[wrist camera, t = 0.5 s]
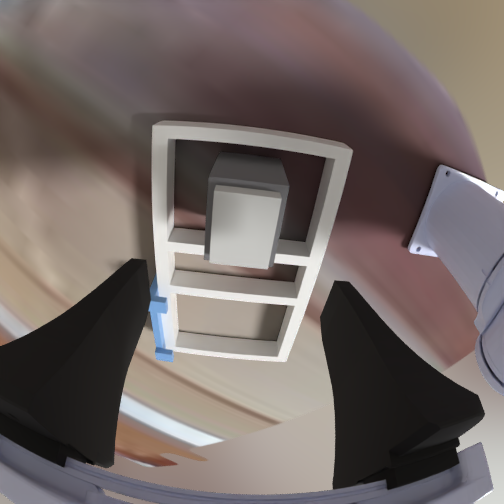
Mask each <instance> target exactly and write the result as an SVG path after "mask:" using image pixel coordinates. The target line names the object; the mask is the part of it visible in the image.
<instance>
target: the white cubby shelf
mask: <svg viewBox="0 0 504 504" xmlns="http://www.w3.org/2000/svg"><path fill="white" fill-rule="evenodd" d="M176 139H186V140H200V141H213V142H224V143H234V144H243V145H251V146H259V147H267V148H274V149H280V150H287V151H293V152H299V153H305V154H311V155H316V156H322V157H326V160H325V164H324V169H323V173H322V177H321V182H320V186H319V190H318V194H317V198H316V202H315V207H314V211H313V215H312V218H311V222H310V226H309V230H308V234H307V238H306V242H300V241H291V240H283V239H279V241H278V246H277V250H276V255H275V260H274V263H281V264H290V265H299V267H298V271H297V275H296V278H295V282H285V281H275V280H265V279H255V278H245V277H236V276H227V275H218V274H209V273H200V272H191V271H183V270H175V253H174V252H180V253H189V254H198V255H204V245H205V231H203V230H193V229H184V228H174V172H175V146H176ZM352 154H353V150H352V149H351V148H350V147H348V146H347V145H346V144H344V143H341V142H337V141H332V140H328V139H323V138H318V137H313V136H307V135H302V134H296V133H290V132H284V131H278V130H271V129H264V128H256V127H248V126H239V125H230V124H219V123H206V122H190V121H165V120H162V121H160V122H158V123H156V124H154V125H153V126H152V212H153V233H154V248H155V262H156V275H155V277H154V280H153V282H152V285H151V287H150V295H151V302H150V306H149V310H148V311H150V315H151V321H152V327H153V332H154V338H155V343H156V351H155V355H156V359H157V360H162V361H169V362H173V359H174V355H173V351H176V352H183V353H191V354H198V355H206V356H215V357H225V358H235V359H247V360H261V361H278V362H286V360H287V358H288V355H289V353H290V350H291V348H292V345H293V342H294V340H295V337H296V334H297V332H298V329H299V326H300V324H301V321H302V318H303V315H304V313H305V310H306V307H307V304H308V301H309V299H310V296H311V293H312V290H313V287H314V284H315V281H316V278H317V275H318V272H319V269H320V266H321V263H322V260H323V257H324V253H325V250H326V247H327V244H328V241H329V237H330V234H331V231H332V227H333V224H334V221H335V217H336V214H337V210H338V207H339V203H340V200H341V196H342V192H343V189H344V185H345V181H346V177H347V173H348V170H349V166H350V162H351V158H352ZM176 294H184V295H192V296H200V297H209V298H217V299H227V300H236V301H246V302H256V303H267V304H279V305H288V306H287V309H286V312H285V316H284V319H283V322H282V326H281V329H280V332H279V335H278V339H277V341H264V340H251V339H240V338H229V337H220V336H211V335H202V334H194V333H187V332H179V327H178V314H177V299H176Z"/></svg>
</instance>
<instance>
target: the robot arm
mask: <svg viewBox="0 0 504 504" xmlns="http://www.w3.org/2000/svg"><path fill="white" fill-rule="evenodd" d="M447 171H448V173H447V175H446V172H447ZM495 192H496V193H495ZM503 199H504V192H503V191H502V190H500V189H498V188H496V187H494V186H492V185H490V184H488V183H486V182H483V181H481V180H479V179H477V178H474V177H472V176H470V175H467V174H465V173H463V172H460V171H458V170H455V169H453V168H450V167H448V166H445V165H440V166H439V167H438V168H437V171H436V174H435V177H434V180H433V183H432V186H431V189H430V192H429V195H428V197H427V200H426V203H425V206H424V208H423V211H422V213H421V216H420V219H419V221H418V224H417V226H416V229H415V231H414V233H413V236H412V238H411V241H410V243H409V245H408V250H409V251H410V253H414V254H421V255H428V256H434V257H439V258H440V260H441V261H442V262H443V264H444V265H445V266H446V268H447V269H448V270H449V272H450V273H451V274H452V276H453V277H454V278H455V280H456V281H457V282H458V284H459V285H460V287H461V288H462V290H463V291H464V292H465V294H466V295H467V297H468V298H469V300H470V301H471V303H472V304H473V306H474V307H475V309H476V310H477V312H478V315H477V317H476V319H475V321H474V324H475V326H476V327H477V329H478V331H479V332H480V335H479V336H478V338H477V340H476V344H475V354H476V359H477V363H478V366H479V369H480V371H481V373H482V376H483V377H484V379H485V380H486V382H487V383H488V384H489V386H490V387H491V388H492V389H494V390H495V391H496V392H498V393H499V394H501V395H503V396H504V204H503V203H502V202H503ZM418 247H419V248H418ZM417 248H418V249H417ZM150 302H151V295H150V288H149V280H148V272H147V263H146V260H141V259H133V258H131V259H130V260H129V261H128V262H126V263H125V264H124V265H123V266H122V267H121V268H119V269H118V270H117V271H116V272H115V273H114V274H112V275H111V276H110V277H109V278H108V279H106V280H105V281H104V282H103V283H102V284H101V285H99V286H98V287H97V288H96V289H95V290H93V291H92V292H91V293H90V294H88V295H87V296H86V297H84V298H83V299H82V300H81V301H79V302H78V303H77V304H76V305H74V306H73V307H71V308H70V309H69V310H67V311H66V312H64V313H63V314H61V315H60V316H58V317H57V318H55V319H54V320H52V321H50V322H49V323H47V324H45V325H43V326H42V327H40V328H38V329H36V330H35V331H33V332H31V333H29V334H27V335H25V336H23V337H21V338H19V339H17V340H14V341H12V342H10V343H7V344H5V345H2V346H0V492H1V493H2V494H3V495H4V496H5V497H7V498H8V499H9V500H11V501H12V502H13V503H15V504H132V503H129V502H125V501H122V500H118V499H115V498H112V497H109V496H106V495H105V493H104V491H103V490H102V489H101V488H103V489H106V490H109V491H112V492H116V493H119V494H122V495H126V496H129V497H133V498H137V499H141V500H145V501H149V502H154V503H159V504H474V503H475V502H477V501H478V500H480V499H481V498H483V497H484V496H486V495H487V494H489V493H490V492H492V491H493V484H492V480H491V476H490V472H489V467H488V464H487V460H486V456H485V452H484V449H483V445H482V443H481V442H479V443H477V444H475V445H473V446H471V447H468V448H466V449H464V450H463V451H460V452H458V453H457V451H456V447H458V446H459V445H460V443H459V439H458V437H460V436H461V435H463V434H464V433H465V432H466V431H468V430H470V429H471V428H472V427H473V426H475V425H476V424H477V423H479V422H480V421H481V420H482V419H483V417H484V415H485V413H484V410H483V407H482V404H481V401H480V399H479V396H478V395H477V394H474V393H473V392H471V391H469V390H467V389H465V388H464V387H462V386H460V385H458V384H457V383H455V382H453V381H452V380H450V379H449V378H447V377H446V376H444V375H443V374H441V373H440V372H439V371H437V370H436V369H434V368H433V367H432V366H431V365H429V364H428V363H427V362H425V361H424V360H423V359H422V358H421V357H419V356H418V355H417V354H416V353H415V352H414V351H413V350H411V349H410V348H409V347H408V346H407V345H406V344H405V343H404V342H403V341H402V340H401V339H400V338H399V337H398V336H397V335H396V334H395V333H394V332H393V331H392V330H391V329H390V328H389V327H388V326H387V324H386V323H385V322H384V321H383V320H382V319H381V318H380V317H379V316H378V314H377V313H376V312H375V311H374V310H373V309H372V307H371V306H370V305H369V304H368V303H367V302H366V300H365V299H364V298H363V297H362V296H361V295H360V293H359V292H358V291H357V290H356V289H355V288H354V287H353V285H352V284H351V283H350V282H347V281H336V280H335V281H334V283H333V286H332V289H331V291H330V294H329V296H328V299H327V301H326V304H325V306H324V309H323V311H322V314H321V316H320V321H321V333H322V341H323V346H324V351H325V356H326V360H327V365H328V369H329V374H330V379H331V384H332V390H333V397H334V410H335V435H336V436H335V438H336V439H335V464H334V477H333V490H327V491H319V492H309V493H297V494H276V495H247V494H246V495H245V494H226V493H213V492H203V491H195V490H188V489H181V488H175V487H169V486H164V485H159V484H154V483H149V482H145V481H141V480H137V479H133V478H128V477H125V476H122V475H118V474H115V473H111V472H108V471H105V470H102V469H99V468H96V467H93V466H90V465H88V464H86V463H89V464H92V465H98V466H101V467H104V468H109V467H111V466H112V465H114V452H115V437H116V429H117V420H118V413H119V407H120V402H121V396H122V391H123V387H124V382H125V378H126V374H127V371H128V367H129V365H130V362H131V359H132V356H133V354H134V351H135V348H136V346H137V343H138V340H139V338H140V335H141V332H142V330H143V327H144V325H145V322H146V318H147V314H148V310H149V306H150Z"/></svg>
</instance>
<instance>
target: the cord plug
mask: <svg viewBox="0 0 504 504" xmlns="http://www.w3.org/2000/svg"><path fill="white" fill-rule="evenodd" d="M289 187H290V186H289V183H288V180H287V177H286V174H285V171H284V168H283V165H282V162H281V159H278V158H271V157H264V156H256V155H248V154H239V153H230V152H219V155H218V157H217V159H216V161H215V163H214V166H213V168H212V170H211V172H210V175H209V179H208V193H207V208H206V225H205V245H204V260H209V263H214V264H223V265H232V266H241V267H251V268H260V269H268V267H273V264H274V260H275V255H276V250H277V246H278V241H279V236H280V231H281V226H282V222H283V217H284V212H285V207H286V202H287V197H288V192H289Z"/></svg>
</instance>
